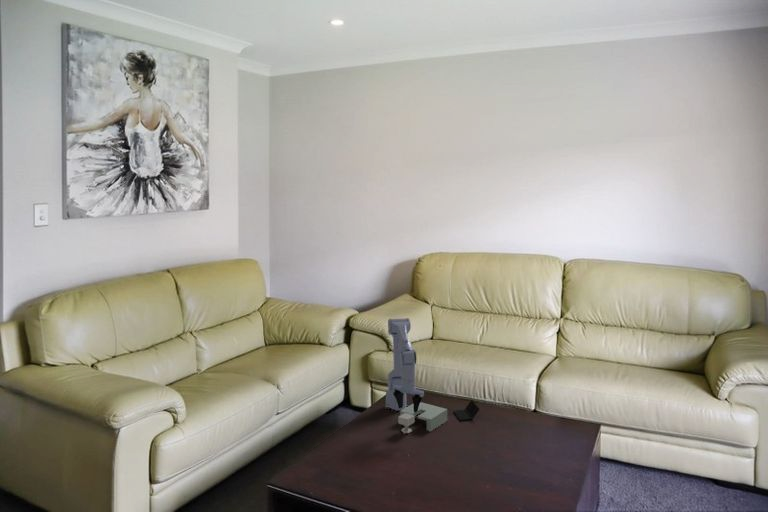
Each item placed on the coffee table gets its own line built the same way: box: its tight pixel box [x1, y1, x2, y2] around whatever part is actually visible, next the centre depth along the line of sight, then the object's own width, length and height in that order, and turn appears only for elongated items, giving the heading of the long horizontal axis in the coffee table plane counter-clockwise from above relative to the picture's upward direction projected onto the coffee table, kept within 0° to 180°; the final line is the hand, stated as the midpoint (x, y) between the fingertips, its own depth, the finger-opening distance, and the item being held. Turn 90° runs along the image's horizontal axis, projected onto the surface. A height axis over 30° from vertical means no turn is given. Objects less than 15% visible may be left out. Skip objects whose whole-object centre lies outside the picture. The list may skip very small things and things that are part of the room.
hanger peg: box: [397, 413, 416, 433], centre depth 246 cm, size 5×5×7 cm
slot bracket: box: [399, 402, 448, 432], centre depth 256 cm, size 16×14×6 cm
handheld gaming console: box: [452, 400, 480, 422], centre depth 263 cm, size 12×7×10 cm
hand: (408, 409), depth 245 cm, fingers open, 7 cm apart
